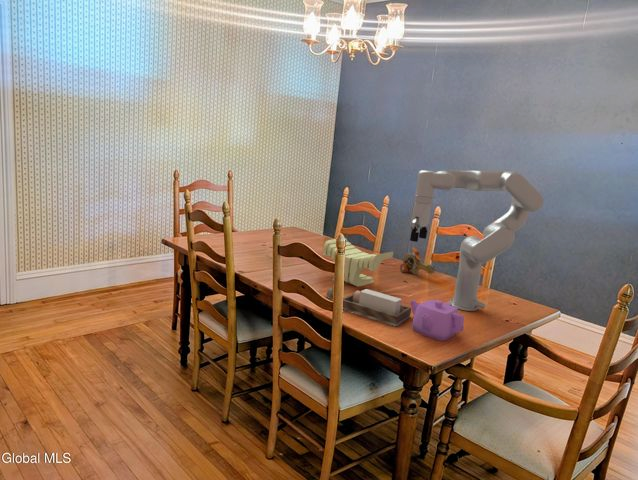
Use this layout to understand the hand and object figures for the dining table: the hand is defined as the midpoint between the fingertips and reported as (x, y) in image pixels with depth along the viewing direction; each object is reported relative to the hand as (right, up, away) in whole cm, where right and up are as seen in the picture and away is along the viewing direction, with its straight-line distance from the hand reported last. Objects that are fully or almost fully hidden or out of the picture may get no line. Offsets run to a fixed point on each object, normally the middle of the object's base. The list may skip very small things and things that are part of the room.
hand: (418, 239), depth 206 cm
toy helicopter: (+9, -19, +50) cm, 54 cm away
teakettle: (0, -35, -25) cm, 43 cm away
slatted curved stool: (-25, -20, +29) cm, 43 cm away
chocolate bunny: (-36, -26, +2) cm, 44 cm away
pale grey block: (-20, -29, -11) cm, 37 cm away
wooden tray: (-20, -30, -11) cm, 37 cm away
